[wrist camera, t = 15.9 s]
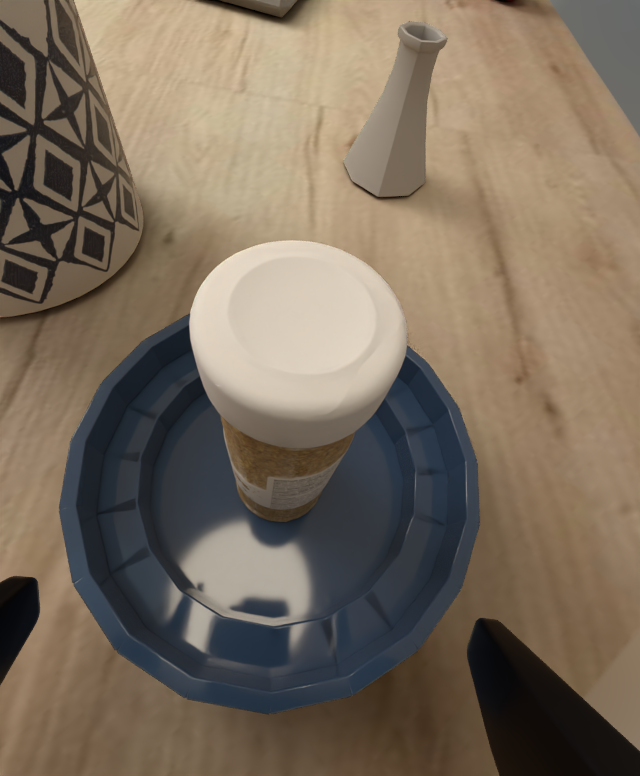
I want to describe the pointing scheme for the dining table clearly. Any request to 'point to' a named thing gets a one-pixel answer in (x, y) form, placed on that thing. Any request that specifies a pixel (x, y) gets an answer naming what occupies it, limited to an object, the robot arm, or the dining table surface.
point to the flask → (398, 119)
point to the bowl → (263, 538)
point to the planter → (57, 163)
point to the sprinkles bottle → (294, 364)
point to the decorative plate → (265, 5)
